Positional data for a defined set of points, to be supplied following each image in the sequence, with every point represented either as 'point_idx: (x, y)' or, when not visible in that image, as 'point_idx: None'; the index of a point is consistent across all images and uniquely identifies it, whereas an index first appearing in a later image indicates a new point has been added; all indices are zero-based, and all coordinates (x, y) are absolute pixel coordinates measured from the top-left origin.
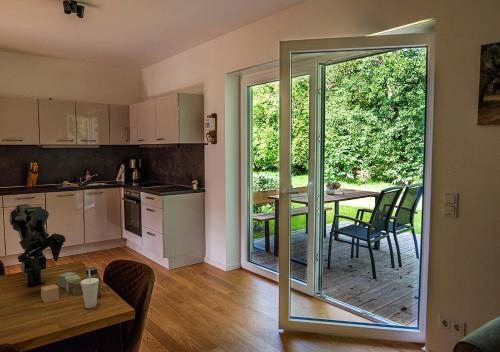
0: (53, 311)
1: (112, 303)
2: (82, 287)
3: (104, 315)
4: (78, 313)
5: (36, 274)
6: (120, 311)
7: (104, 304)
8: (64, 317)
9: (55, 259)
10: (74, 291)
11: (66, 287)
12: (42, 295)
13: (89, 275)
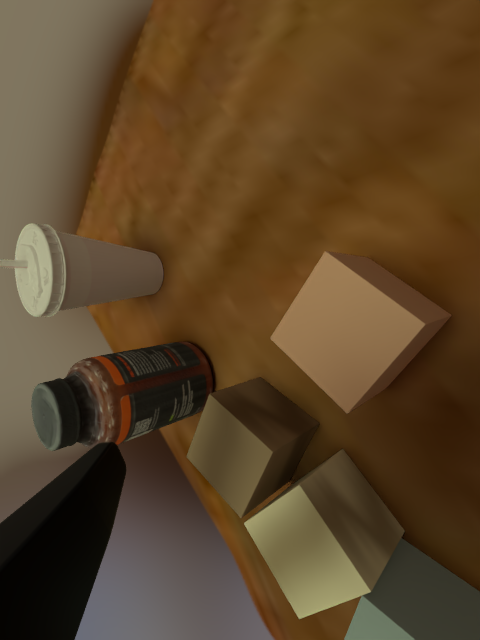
0: (245, 175)
1: (112, 310)
2: (63, 234)
3: (93, 215)
4: (153, 199)
5: None
6: None
7: None
8: (173, 146)
9: (83, 460)
10: (245, 385)
11: (357, 492)
12: (409, 295)
13: None
